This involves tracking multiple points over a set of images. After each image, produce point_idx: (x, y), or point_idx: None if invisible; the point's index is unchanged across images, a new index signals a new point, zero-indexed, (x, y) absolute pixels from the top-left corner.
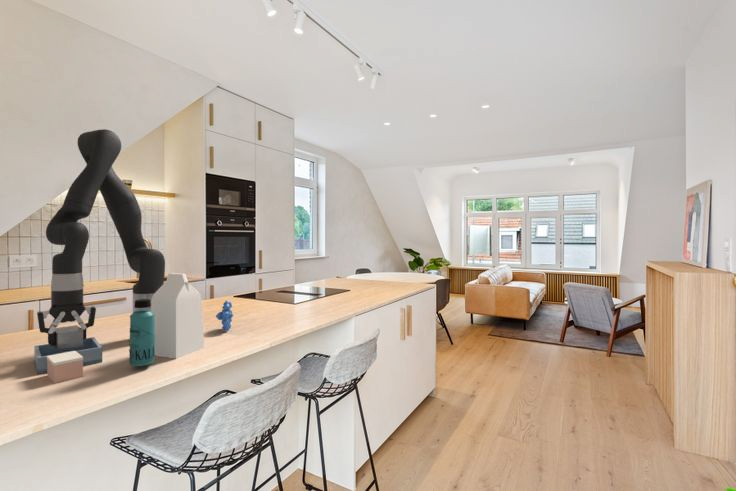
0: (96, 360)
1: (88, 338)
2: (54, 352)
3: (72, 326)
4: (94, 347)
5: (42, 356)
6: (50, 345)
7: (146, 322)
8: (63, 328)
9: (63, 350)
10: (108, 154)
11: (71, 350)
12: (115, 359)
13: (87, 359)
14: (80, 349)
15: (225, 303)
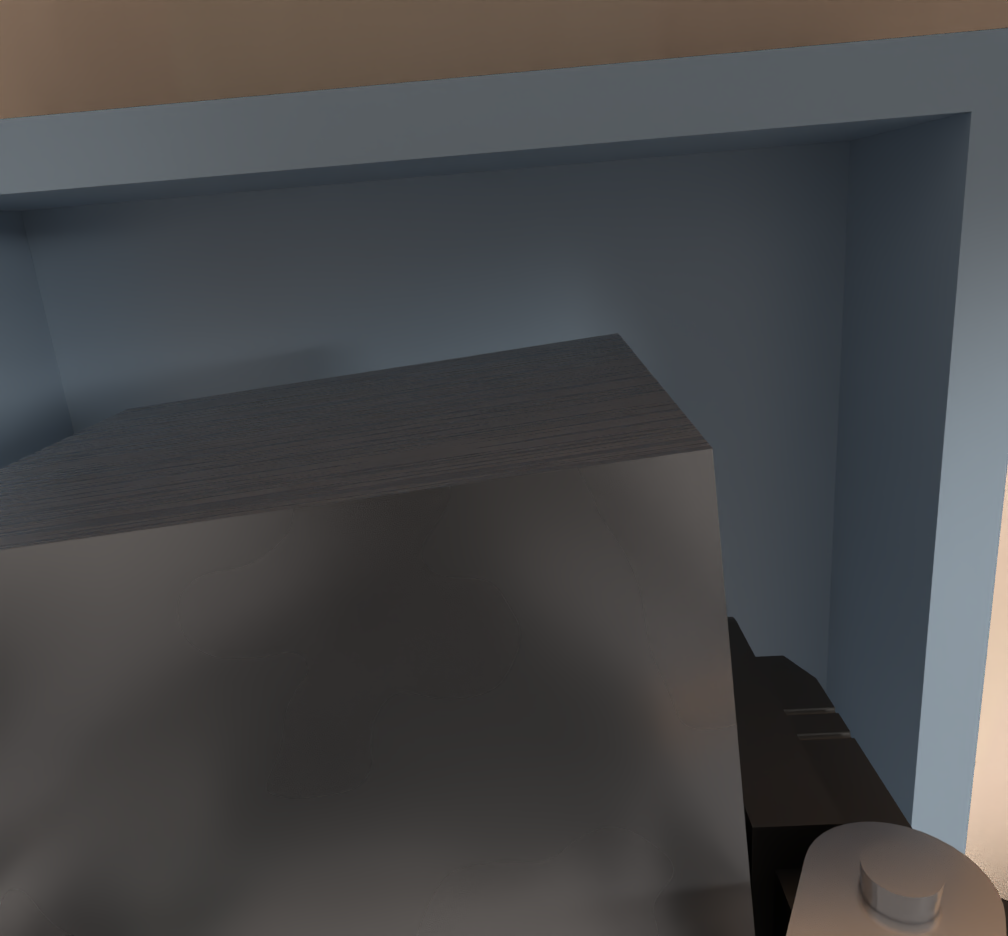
0: None
1: (902, 113)
2: (236, 188)
3: (521, 639)
4: (876, 541)
5: (77, 209)
6: (94, 185)
7: None
8: (202, 822)
9: (378, 176)
10: None
11: (513, 166)
12: (1002, 820)
13: None
14: (665, 154)
15: None
